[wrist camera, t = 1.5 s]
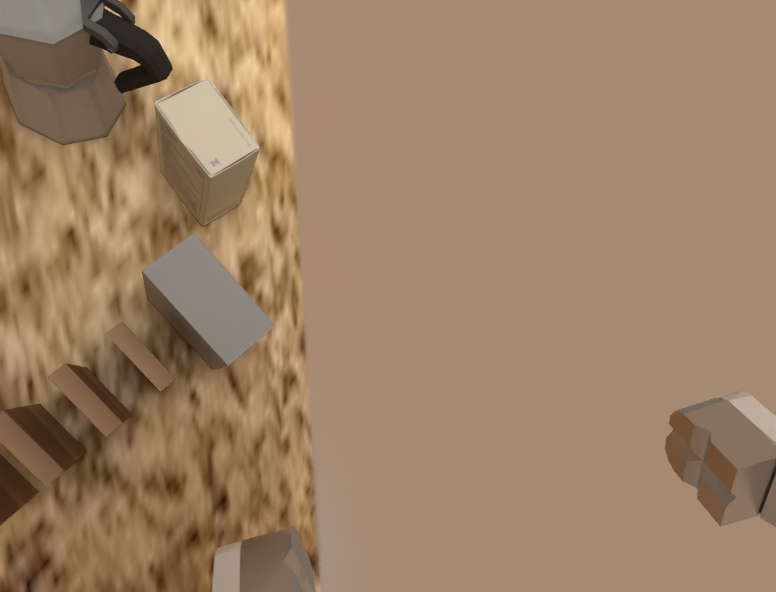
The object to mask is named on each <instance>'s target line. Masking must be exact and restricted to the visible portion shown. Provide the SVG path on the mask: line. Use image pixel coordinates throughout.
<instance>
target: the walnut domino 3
mask: <svg viewBox="0 0 776 592" xmlns="http://www.w3.org/2000/svg"><path fill="white" fill-rule="evenodd" d="M48 378H49V379H50V380H51V381H52V382H53V383H54V384H55V385H56V386H57V387H58V388H59V389H60V390H61V391H62V392H63V393H64V394H65V395H66V396H67V398H68V399H69V400H70V401H71V402H72V403H73V404H74V405H75V406H76V407H77V408H78V409H79V410H80V411H81V412H82V413H83V414H84V415H85V416H86V417H87V418H88V419H89V420H90V421H91V422H92V423H93V424H94V425H95V426H96V427H97V428H98V429H99V430H100V431H101V432H102V433H103V434H104V435H105V436H106V437H107V436H108V435H109V434H110V433H111V432H113V431H114V430H115V429H116V428H117V427H119V426H120V425H121V424H122V423H123V422H124V421H125V420H126V419H127V418H128V417H129V416H130V415H131V413H130V412H129V411H128V410H127V409H126V408H125V407H124V405H123V404H122V403H121V402H120V401H119V400H118V399H117V398H116V397H115V396H114V395H113V394H112V393H111V392H110V391H109V390H108V389H107V388H106V387H105V386H104V385H103V384H102V383H101V382H100V381H99V379H98V378H97V377H96V376H95V375H94V374H93V373H92V372H91V371H90V370H89V369H88V368H86V367H81V366H76V365H70V364H64V365H63V366H62V367H60V368H59V369H58V370H56V371H55V372H54V373H52V374H51V375H50V376H48Z"/></svg>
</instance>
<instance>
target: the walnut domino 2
mask: <svg viewBox="0 0 776 592" xmlns="http://www.w3.org/2000/svg"><path fill="white" fill-rule="evenodd" d="M0 442H1V443H2V444H3V445H4V446H5V447H6V448H7V449H8V450H9V451H10V452H11V453H12V454H13V455H14V456H15V457H16V458H17V459H18V460H19V461H20V462H21V463H22V464H23V465H24V466H25V467H26V468H27V469H28V470H29V471H30V472H31V473H32V474H33V475H34V476H36V477H37V478H38V479H39V480H40V481H41V482H42V483H43V484H44V485H45V486H46V487H47V486H48V485H49V484H51V483H52V482H53V481H54V480H55V479H57V478H58V477H59V476H60V475H61V474H62V473H64V472H65V471H66V470H67V469H68V468H69V467H70V466H72V465H73V464H74V463H75V462H76V461H77V460H78V459H79V458H80V457H81V456H83V455H84V454H85V453H86V452H87V451H86V450H85V449H84V448H83V447H82V446H81V445H80V444H79V443H78V442H77V441H76V440H75V439H74V438H73V437H72V436H71V435H70V434H69V433H68V432H67V431H66V430H65V429H64V428H63V427H62V426H61V425H60V424H59V423H58V422H57V421H56V420H55V419H54V418H53V417H52V416H51V415H50V414H49V412H48V411H47V410H46V409H45V408H44V407H43V406H42V405H41V404H36V405H31V406H25V407H19V408H14V409H8V410H3V411H2V412H0Z"/></svg>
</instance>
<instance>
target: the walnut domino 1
mask: <svg viewBox="0 0 776 592" xmlns="http://www.w3.org/2000/svg"><path fill="white" fill-rule="evenodd" d="M38 492H39V491H38V490H37V489H36V488H35V487H34V486H33V485H31V484H30V483H29V482H28V481H27V480H26V479H25V478H24V477H23V476H22V475H21V474H20V473H19V472H18V471H17V470H16V469H15V468H14V467H13V466H12V465H11V464H10V463H9V462H8V461H7V460H6V459H5V458H4V457H3V456H2V455H1V454H0V525H1V524H3V523H4V522H5V521H6V520H7V519H8V518H9V517H11V516H12V515H13V514H14V513H15V512H16V511H17V510H19V509H20V508H21V507H22V506H23V505H24V504H25V503H26V502H28V501H29V500H30V499H31V498H32V497H33V496H34V495H36V494H37V493H38Z"/></svg>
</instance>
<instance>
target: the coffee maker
mask: <svg viewBox="0 0 776 592" xmlns="http://www.w3.org/2000/svg"><path fill="white" fill-rule="evenodd" d="M105 6H107V7H108V8H110V9H111V10H113V11H114V12H116V13H118V14H119V15H120V16H121V17H122V18H121V17H119V16H117V15H115V14H113V13H111V12H110V11H108V10H106V9H105ZM134 23H135V16H134V15H133V14H132V13H131V12H130V10H129V9H128V8H127V7H126V6H125V5H124V4H123V3H122V2H120V1H119V0H0V66H1V71H2V76H3V82H4V86H5V88H6V91H7V93H8V96H9V99H10V101H11V104H12V106H13V109H14V111H15V114H16V116H17V119H18V122H19V124H21V125H23V126H25V127H27V128H29V129H31V130H33V131H35V132H37V133H39V134H41V135H43V136H45V137H47V138H49V139H51V140H53V141H55V142H57V143H60V144H62V145H66V144H71V143H76V142H82V141H87V140H92V139H97V138H102V137H107V135H108V134H109V132H110V130H111V129H112V127H113V126H114V124H115V122H116V121H117V119H118V117H119V116H120V114H121V113H122V111H123V109H124V108H125V106H126V104H125V102H124V99H123V96H122V94H121V93H124V92H127V91H131V90H134V89H137V88H141V87H144V86H147V85H150V84H154V83H157V82H160V81H162V80H165V79H167V77H168V76H169V74H170V72H171V71H172V65H171V63H170V61H169V59H168V57H167V55H166V54H165V52H164V50H163V48H162V47H161V45H160V43H159V41H158V40H156V39H155V38H154V37H153V36H152V35H150V34H149V33H148V32H147V31H145V30H143V29H141V28H139V27H137V26H136V25H134ZM102 49H104V50H107V51H108V52H109V53H111V54H112V53H116V54H119V55H121V56H124V57H127V58H130V59H133V60H134V61H136V62H138V63H139V64H141V65H140V66H137V67H135V68H132V69H129V70H126V71H123V72H121V73H119V75H118V76H117V78H115V76H114V73H113V71H112V68H111V66H110V64H109V62H108V60H107V58H106V56H105V54H104V52H103V50H102Z"/></svg>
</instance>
